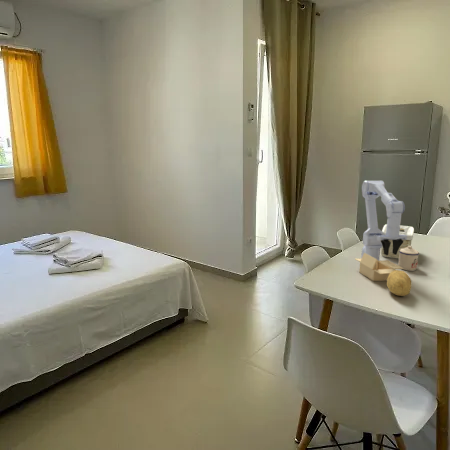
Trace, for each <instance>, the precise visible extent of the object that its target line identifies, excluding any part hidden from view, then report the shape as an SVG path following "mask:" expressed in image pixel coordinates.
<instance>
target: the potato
mask: <svg viewBox="0 0 450 450" xmlns="http://www.w3.org/2000/svg"><path fill="white" fill-rule="evenodd" d="M412 285H413V283H412V280H411V277H410V276H409V274H408V273H407V272H405V270H401V269H395V271H392V272H391V273H390V274H389V276H388V278H387V280H386V286H387V288H388V291H389V292H390V293H392V294H394V295H396V296H399V297H405V296H408V295H409V294H410V293H411V289H412Z"/></svg>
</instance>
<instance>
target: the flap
mask: <svg viewBox="0 0 450 450" xmlns="http://www.w3.org/2000/svg"><path fill="white" fill-rule="evenodd" d="M360 262H361V263H362V264H364V265H366V266H368V267H369V268H371V269H373V268H374V266H375V264H376V262H377V259H375V258H374V257H372V256H370V255H368V254H366V253H364V254H363V256H362V259H361V261H360ZM360 262H359V263H360Z"/></svg>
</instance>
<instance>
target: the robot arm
mask: <svg viewBox="0 0 450 450" xmlns="http://www.w3.org/2000/svg"><path fill="white" fill-rule="evenodd" d="M385 185H386V184H385V182H384V180H381V179H380V180H364V181H363V182H362V183H361V194H362V198H364V202H365V211H366V212H365V214H366V220H367V222H366V223H367V229H366V230H365V231H364V232H363V234H362V236H363V237H362V244H363V247H362V249H361V256H360V258H362V256H363V254H364V253H366V254H368V255H370V256H372V257H374V258H375V259H377V260H378V261H380V256H381V255H380V254H381V248H382V246H383V249H384V254H385V255H388V253H389V247H390V244H391V242H389V240H392V241H393V250H392V253H393V254H395V255H396V254H397V252H398V249H399V247H400V246H401V245H402V243H403V240H402V239H405V240H407V235H399V233H400V231H401V230H400V225H401V223H402V214H403V213H404V212H405V209H406V206H405V203H404V201H403V200H398V199H397V198H396V197H395V196H394V195H393V193H392V192H388V191H387V189H386V188H385V187H386V186H385ZM379 197H381V198H380V201H381V202H382V204H384V207H385V210H386V217H387V220H386V224H387V228H386V235H383V232H382V229H380V228H379V223H378V222H379V221H378V213H377V204H376V200H377V199H378V198H379Z"/></svg>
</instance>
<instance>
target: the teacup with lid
mask: <svg viewBox="0 0 450 450" xmlns="http://www.w3.org/2000/svg"><path fill="white" fill-rule="evenodd" d="M399 252H400V253H399V259H398V262H397V263H398V264H397V265H398V266H400V267H402V268H403V269H402V271H416V270H418V261H419V255H420V251H419V250H417V249H414V248H413V247H412V245H411V246H408V248H404V249H400V251H399Z"/></svg>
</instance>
